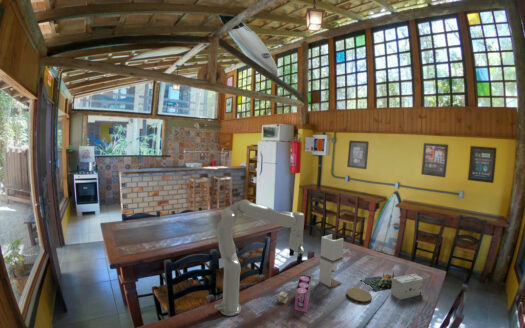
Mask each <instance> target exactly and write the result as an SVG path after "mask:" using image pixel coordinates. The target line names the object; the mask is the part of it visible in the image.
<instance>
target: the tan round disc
mask: <svg viewBox="0 0 525 328" xmlns="http://www.w3.org/2000/svg"><path fill="white" fill-rule="evenodd" d="M345 295H346V297H347V299H349V300H350V301H352V302H353V303H356V304H358V305H359V304H361V305H367V304H370V303H372V300H373V296H372V294H371V293H370V292H369V291H367V290H365V289H363V288H359V287H351V288H348V289H347V290H346V294H345Z"/></svg>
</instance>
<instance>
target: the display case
mask: <svg viewBox="0 0 525 328" xmlns="http://www.w3.org/2000/svg"><path fill="white" fill-rule="evenodd" d="M320 241H321V243H320V260H319V275H318V276H319V278H318V284H319V285H321V286H323V287H326V288H327V289H329V290H333V289H335V288H337V287H339V286H341V285H342V283H341V282H340V281H338V280H336V279H334V278H332V273H333V274H334V273H337V272H338V271H337V270H338V264H340V263H343V258H344V257H343V255H344V254H343V253H344V237H341V238H338V239H333V234H332V233H331V234H328V235H324V236H323V235H322V236H321V239H320Z"/></svg>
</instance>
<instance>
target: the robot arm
mask: <svg viewBox="0 0 525 328" xmlns="http://www.w3.org/2000/svg"><path fill="white" fill-rule="evenodd" d="M242 215H243V216H245V217H247V218H252V219H255V220H256V219H257V220H261V221H264V222H267V223H270V224H272V225H275V226H279V227H284V228H291V229H290V236H289V239H288V249H289V252H288V255H289V257H292V256H295V253H297V258H296V262H297V263H301V262H302V261H303V256H304V253H305V250H304V236H303V235H304V226H305V214H304V213H303V212H300V211H295V212H293V211H287V210H285V211H281V212H280V211H277V210H275V209H273V208H271V207H269V206H266V205H262V204H257V203H256V202H255V203H254V202H251V201H250V200H248V199H240V200H239V201H237V202H235V203H233V204H232V205H231V204H230V205H229V206H228V207H226V208H224V209H223V210H222V212H221V216H220V217H221V219H220V220H219V222H218V223H217V227H216V231H215V232H216V237H217V242H218V249H219V253H220V254H219V255H220V257H221V261H222V264H223V265H222V266H223V280H222V283H223V285H222V287H223V289H222V300H221V302H220V303H218V304H214V309H217V310H218V311H220V313H221V314H222V315H225V316H230V317H231V316H235V315H238V314H239V313H240V312H241V311H242V306H241V304H240V303H239V302H240V278H241V277H240V276H241V267H242V266H241V263H240V261H239V258H238V254H237V251H236V244H235V242H234V238H233V234H232V229H233V228H234V226H235V225H236V224H237V221H238V217H241V216H242Z"/></svg>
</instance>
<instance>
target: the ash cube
mask: <svg viewBox="0 0 525 328" xmlns="http://www.w3.org/2000/svg"><path fill="white" fill-rule="evenodd" d="M288 300H289V293H288V292H284V291H281V292H280V293H279V294H278V302H279V303H282V304H286V303H287V301H288Z"/></svg>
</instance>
